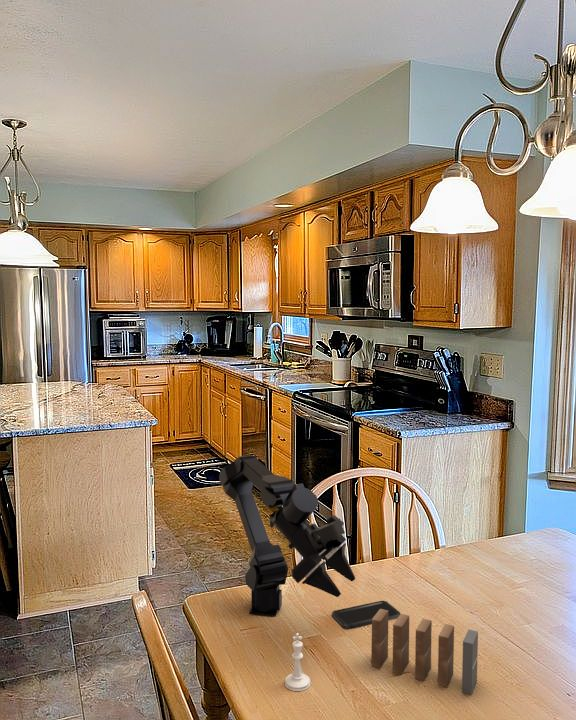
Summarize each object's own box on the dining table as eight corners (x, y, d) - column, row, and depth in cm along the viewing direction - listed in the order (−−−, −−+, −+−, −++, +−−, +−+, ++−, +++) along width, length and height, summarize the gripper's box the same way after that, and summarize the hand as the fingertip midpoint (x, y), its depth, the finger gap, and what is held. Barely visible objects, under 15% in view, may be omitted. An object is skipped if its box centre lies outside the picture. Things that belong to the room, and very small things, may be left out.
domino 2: (392, 673, 123) (392, 624, 122) (400, 660, 127) (400, 613, 126) (401, 675, 122) (402, 626, 121) (409, 662, 126) (409, 615, 125)
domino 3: (414, 679, 121) (415, 629, 120) (421, 666, 125) (422, 618, 124) (424, 681, 120) (425, 632, 119) (431, 668, 124) (431, 620, 123)
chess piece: (284, 676, 121) (283, 627, 121) (308, 675, 122) (308, 626, 121) (286, 692, 117) (285, 641, 116) (311, 690, 117) (311, 640, 116)
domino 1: (371, 666, 125) (371, 619, 124) (379, 654, 129) (380, 608, 128) (380, 669, 124) (380, 621, 123) (388, 657, 128) (388, 610, 127)
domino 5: (461, 692, 116) (462, 641, 115) (467, 678, 121) (468, 629, 120) (471, 695, 115) (472, 644, 115) (477, 681, 120) (478, 631, 119)
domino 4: (437, 685, 118) (438, 635, 118) (444, 672, 123) (444, 623, 122) (447, 688, 118) (448, 637, 117) (453, 674, 122) (454, 626, 121)
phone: (330, 611, 146) (384, 599, 152) (330, 616, 146) (384, 604, 152) (345, 627, 139) (402, 614, 145) (345, 632, 139) (402, 618, 145)
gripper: (303, 518, 124) (357, 579, 120) (336, 497, 141) (384, 550, 137) (269, 552, 128) (321, 613, 123) (305, 528, 145) (351, 581, 140)
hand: (346, 587), depth 131 cm, fingers open, 9 cm apart
